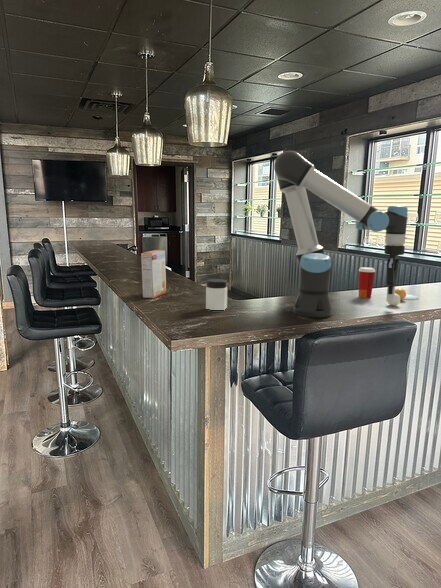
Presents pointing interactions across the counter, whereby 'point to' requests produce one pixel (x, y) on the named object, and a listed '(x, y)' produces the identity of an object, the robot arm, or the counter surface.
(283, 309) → the counter surface
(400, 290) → the object ball
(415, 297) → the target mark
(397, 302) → the cue ball
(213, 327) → the counter surface
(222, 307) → the jar
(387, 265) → the robot arm
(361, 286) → the paper cup
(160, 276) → the cracker box
